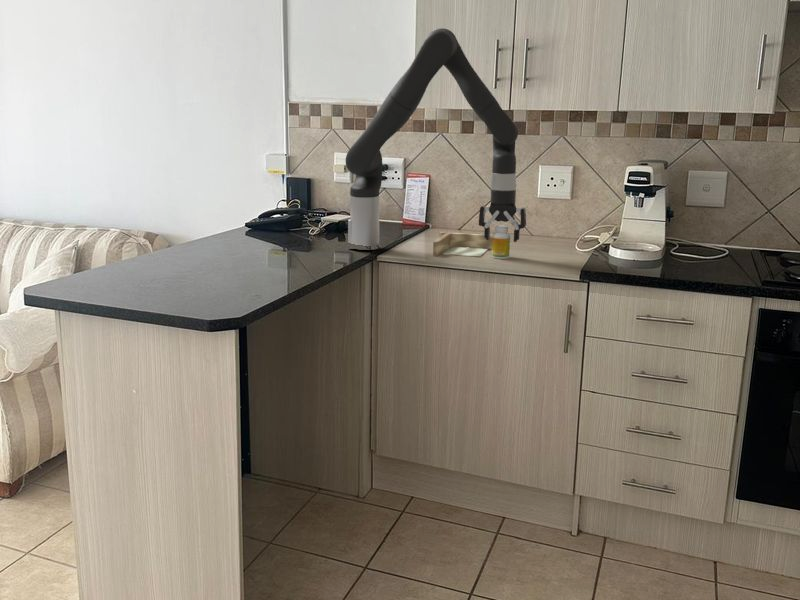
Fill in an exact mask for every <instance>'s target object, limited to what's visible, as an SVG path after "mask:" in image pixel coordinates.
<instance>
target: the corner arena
mask: <svg viewBox="0 0 800 600" xmlns="http://www.w3.org/2000/svg"><path fill="white" fill-rule="evenodd" d="M492 237H493V234H490V240H486V238H485V237H484V234H480V233H478V234H477V233H462V232H447V231H439V237H438V238H437V239H435V240H434V241H433V244H432V245H433V247H432V256H433V257H438V256H440V255H441V254H442V255H445V256H456V257H457V256H458V257H461V256H462V257H469V256H471V257H470V258H482V256H483V255H484V254H485V253H487V252H488V249H489V251H492ZM466 247H469V248H466Z"/></svg>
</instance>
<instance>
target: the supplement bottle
mask: <svg viewBox="0 0 800 600" xmlns="http://www.w3.org/2000/svg"><path fill="white" fill-rule="evenodd" d="M494 231H495V232H494V233H492V235H493V237H492V250H491V257H492V258H493V259H496V260H506V259H509V258H510V246H511V245H510V244H511V235H510V234H509V226H507V225H495V226H494Z"/></svg>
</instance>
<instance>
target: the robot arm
mask: <svg viewBox="0 0 800 600" xmlns="http://www.w3.org/2000/svg"><path fill="white" fill-rule="evenodd" d="M442 67H445V68H446V70H448V72H449V73H450V74H451V75H452V77H453V79H454V81H456V83H457V85H458V87H459V89H460V91H461V93H462V95H463V97H464V98H465V100H466V102H467V103H468V105H469V106H470V107H471V109H472V110H473V111H474V113H475V114H476V115H477V117H478V118H479V119H480V120H481V121H482V122H483V124H485V126H486V127H487V129H488V130H489V132H490V133H491V134H492V151H493V157H492V171H491V172H492V173H491V181H490V203H489V206H485V205H482V206H479V207H480V208H479V213H478V214H479V216H478V226H480V227H483V228H484V234H483V235H484V237H485V238H486V240H490V235H491V227H490V226H491V225H492V224H493V223H494V221H496V222H501V221H502V222H504V223H505V222H506V223H507V222H509V224H511V226H513V228H514V230H513V242H514V243H517V242H518V240H520V230H522V229H524V228H525V227H526V226H527V214H526V213H527V209H526V207H521V208H519V207H517V206H516V199H517V195H516V194H517V176H516V175H517V174H516V173H517V172H516V171H517V159H516V158H517V157H516V140H517V139H518V137H519V136H518V135H519V130H518V127H517V125H516V124H515V122H513V120H512V119H511V118H510V116H509V115H508V114H507V113H506V112H505V110H504V109H503V108H502V107H501V105H500V103H499V102H498V100H497V99H496V98H495V96H494V95H493V93H492V92H491V91H490V89H489V88H488V87H487V85H486V84H485V83H484V82H483V80H482V79H481V78H480V76H479V74H478V73H477V72H476V71H475V69H474V67H473V66H472V64H471V62H469V59H468V58H467V56H466V55H465V53H464V50H463V49H462V47H461V45H460V43H459V40H458V38H457V37H456V35H455V33H453V31H452V30H450V29H448V28H436V29H435V30H433V31H431V32H430V33H428V34H427V35H426V37H425V38H424V40H423V42H422V44H421V45H420V48H419V50H418V52H417V54H416V55H415V57H414V59H413V61H412V62H411V64H410V66H409V67H408V69H407V70H406V71H405V72H404V73H403V75H402V76H401V77H400V78H399V79H398V81H397V82H396V83H395V84H394V86H393V87H392V88H391V90H390V91H389V93H388V95H387V96H386V97H385V99H384V101H383V102H382V104H381V105H380V107H379V109H378V110H377V111H376V113H375V115H374V116H373V118H372V119H371V121H370V123H369V124H368V126H367V127H366V128H365V130H364V131H363V133H362V134H361V135H360V136H359V137H358V138H357V139H356V141H355V142H354V143H353V144H352V146H351V147H350V148H349V150H348V151H347V153H346V155H345V166H346V169H347V171H349V172H350V173H351V174H353V175H355V179H354V181H353V183H352V185H351V186H350V188H349V190H350V191H349V192H350V193H349V196H350V200H349V201H350V202H349V203H350V204H349V206H350V207H349V208H350V209H349V210H350V216H349V217H350V219H348V220H347V229H348V230H347V236H348V237H347V239H348V243H351V244H355V245H363V246H374V245H378V244H379V245H380V191H381V190H380V189H381V187H382V182H383V181H382V180H383V157H382V153H381V149H382V147H383V146H384V145H385V144H386V142H388V140H389V139H390V138H392V136H395V134H396V133H398V132H399V130H400V129H402V128H403V127H404V126H405V125H406V124H407V122H408V121H409V120H410V119H411V117H412V115H413V114H414V113H415V111H416V109H417V108H418V106H419V104H420V103H421V100H422V99H423V97H424V95H425V92H426V91H427V88H428V86H429V84H430V83H431V81H432V80H433V78H434V77H435V76H436V75H437V73H438V72H439V70H440V69H442ZM488 212H489V213H490V215H491V216H490V218H489V219H488V221H487V222H485V219H486V218H485V215H486V214H487V213H488ZM516 213H517V214H518V216H520V224H519V222H518V221H517V218H516V217H515V216H514V215H516Z"/></svg>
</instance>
